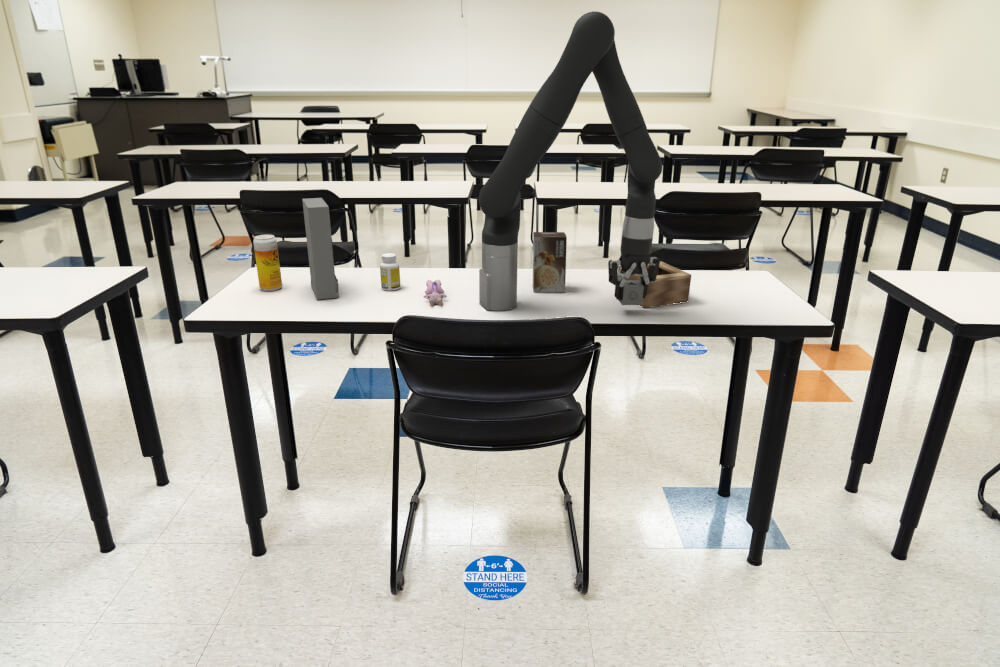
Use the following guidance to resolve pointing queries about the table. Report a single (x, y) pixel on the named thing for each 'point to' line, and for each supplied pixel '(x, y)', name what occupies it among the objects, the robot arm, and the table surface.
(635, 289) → the dice cube
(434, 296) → the rabbit figure
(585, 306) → the table surface
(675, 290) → the open wooden box
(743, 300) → the table surface
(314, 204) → the tall notched grey box
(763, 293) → the table surface
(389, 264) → the supplement bottle
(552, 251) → the coffee box
